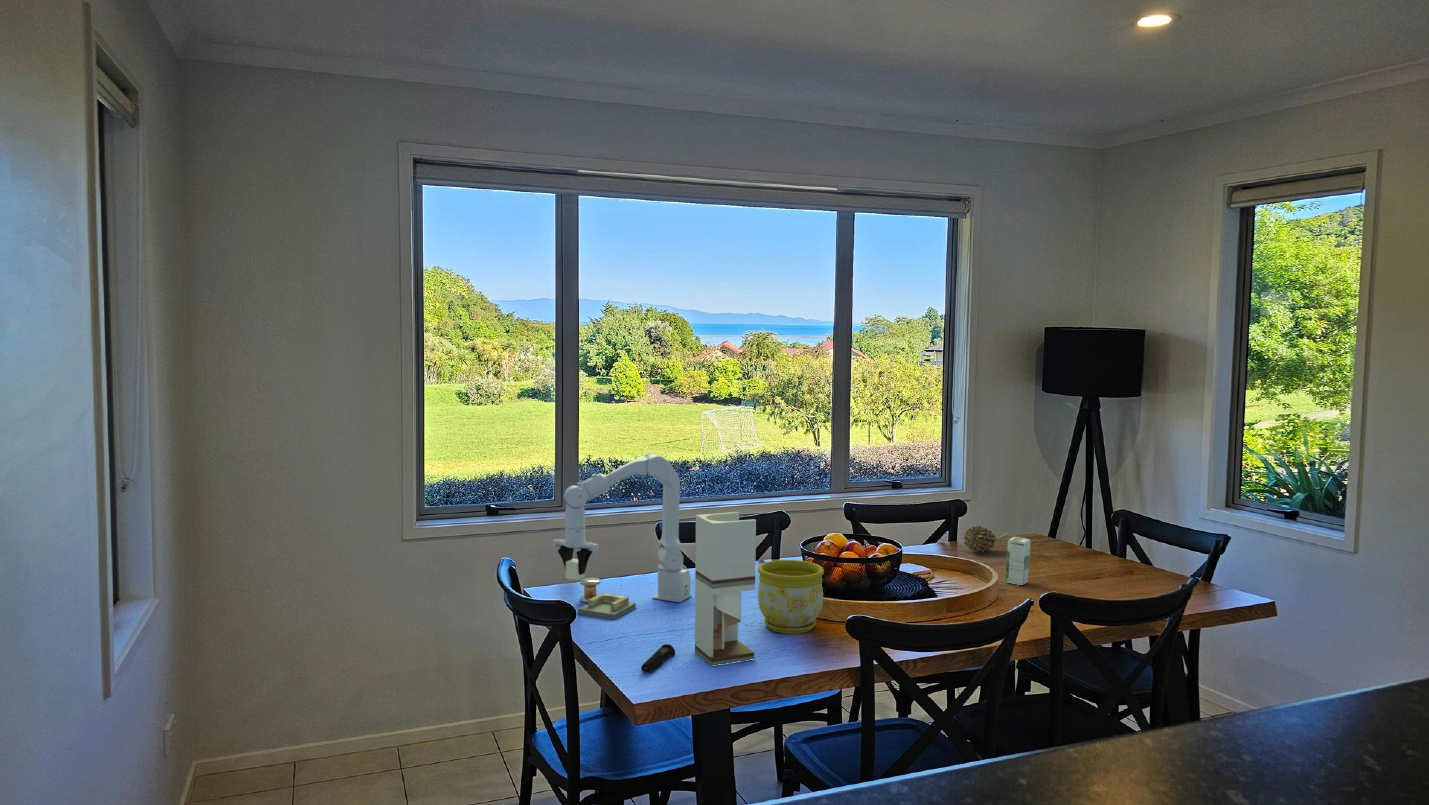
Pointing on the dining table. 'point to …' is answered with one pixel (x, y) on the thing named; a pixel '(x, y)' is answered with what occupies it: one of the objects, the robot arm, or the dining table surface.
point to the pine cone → (981, 538)
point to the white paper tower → (722, 584)
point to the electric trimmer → (658, 658)
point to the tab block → (573, 570)
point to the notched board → (607, 606)
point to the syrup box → (1018, 561)
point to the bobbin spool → (589, 588)
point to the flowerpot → (790, 595)
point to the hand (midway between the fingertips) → (575, 572)
